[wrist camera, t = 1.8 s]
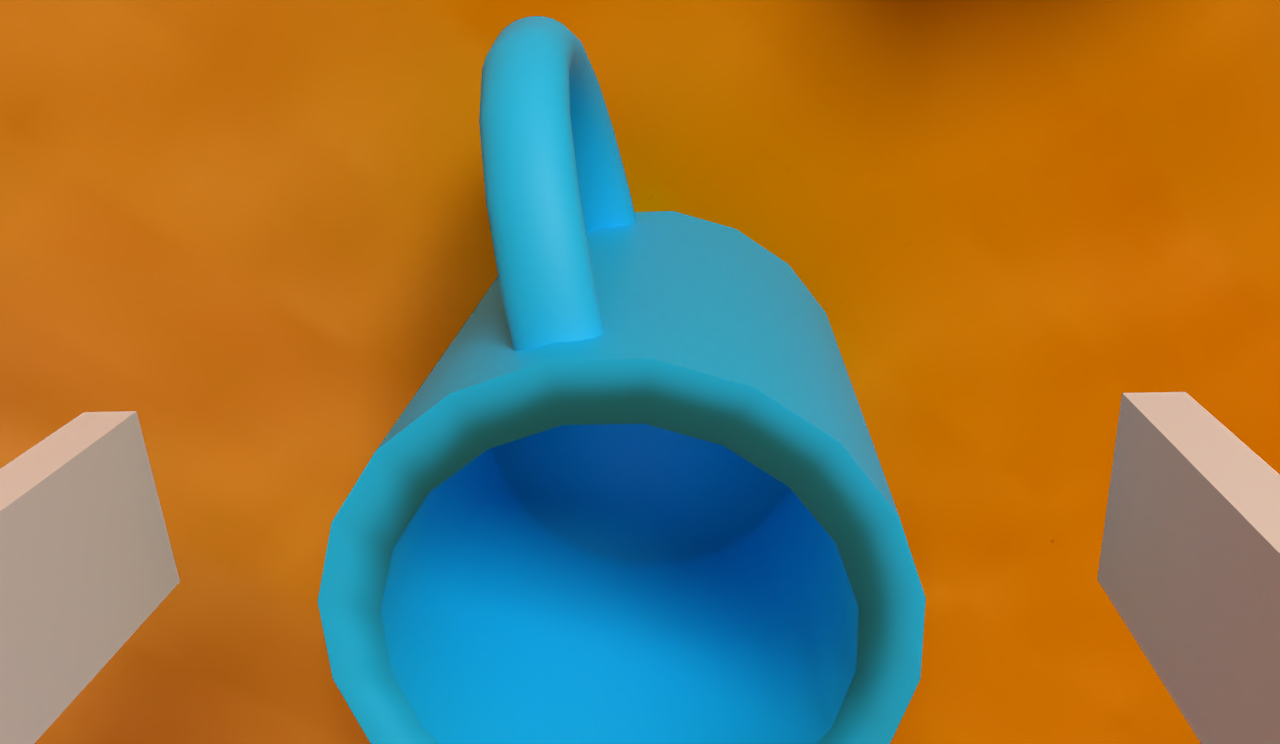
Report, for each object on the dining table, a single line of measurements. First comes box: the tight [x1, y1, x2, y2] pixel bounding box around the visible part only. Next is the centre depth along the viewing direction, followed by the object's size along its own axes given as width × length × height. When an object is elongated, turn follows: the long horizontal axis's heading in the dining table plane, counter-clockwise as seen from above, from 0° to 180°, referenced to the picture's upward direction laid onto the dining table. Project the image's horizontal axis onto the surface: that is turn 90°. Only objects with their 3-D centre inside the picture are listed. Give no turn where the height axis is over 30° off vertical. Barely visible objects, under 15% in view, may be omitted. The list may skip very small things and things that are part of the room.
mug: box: [318, 16, 926, 744], centre depth 16 cm, size 12×8×8 cm
